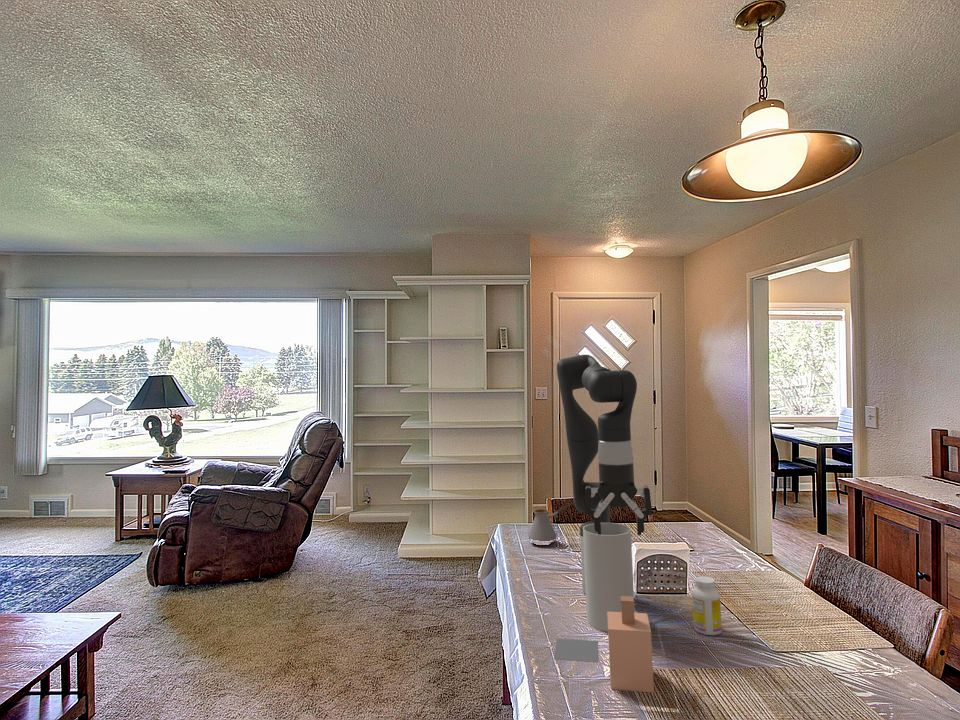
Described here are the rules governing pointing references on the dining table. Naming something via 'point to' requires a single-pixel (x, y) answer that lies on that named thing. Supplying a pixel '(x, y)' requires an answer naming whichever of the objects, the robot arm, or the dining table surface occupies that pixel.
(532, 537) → the coffee pot
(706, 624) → the supplement bottle
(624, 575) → the cylinder vase
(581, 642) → the mat
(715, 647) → the dining table surface
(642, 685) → the orange square bottle
